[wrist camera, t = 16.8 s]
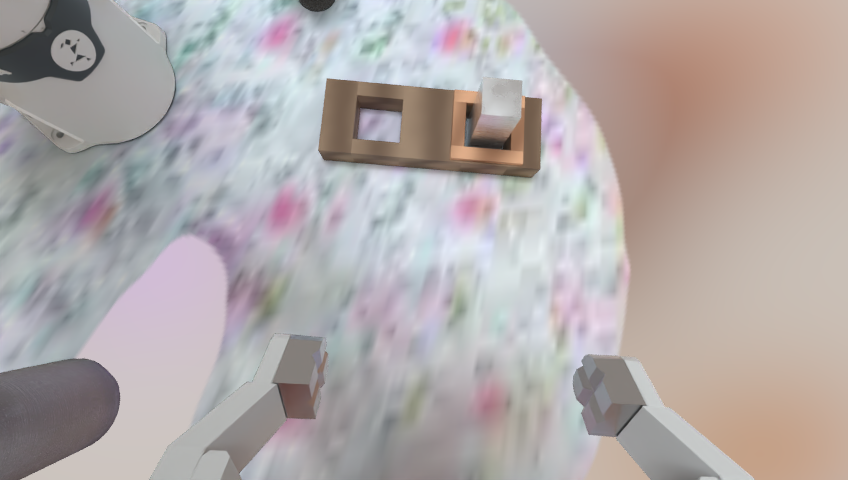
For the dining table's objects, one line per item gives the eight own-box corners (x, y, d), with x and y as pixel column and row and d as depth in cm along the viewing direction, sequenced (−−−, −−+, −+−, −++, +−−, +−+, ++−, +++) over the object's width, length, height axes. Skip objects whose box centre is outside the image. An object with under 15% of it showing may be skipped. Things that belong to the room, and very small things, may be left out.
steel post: (464, 153, 46) (481, 114, 36) (466, 123, 46) (483, 77, 36) (496, 155, 46) (521, 117, 36) (497, 126, 46) (522, 80, 36)
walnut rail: (324, 159, 44) (317, 148, 41) (331, 92, 46) (325, 75, 42) (531, 177, 46) (542, 167, 42) (533, 111, 47) (543, 96, 43)
